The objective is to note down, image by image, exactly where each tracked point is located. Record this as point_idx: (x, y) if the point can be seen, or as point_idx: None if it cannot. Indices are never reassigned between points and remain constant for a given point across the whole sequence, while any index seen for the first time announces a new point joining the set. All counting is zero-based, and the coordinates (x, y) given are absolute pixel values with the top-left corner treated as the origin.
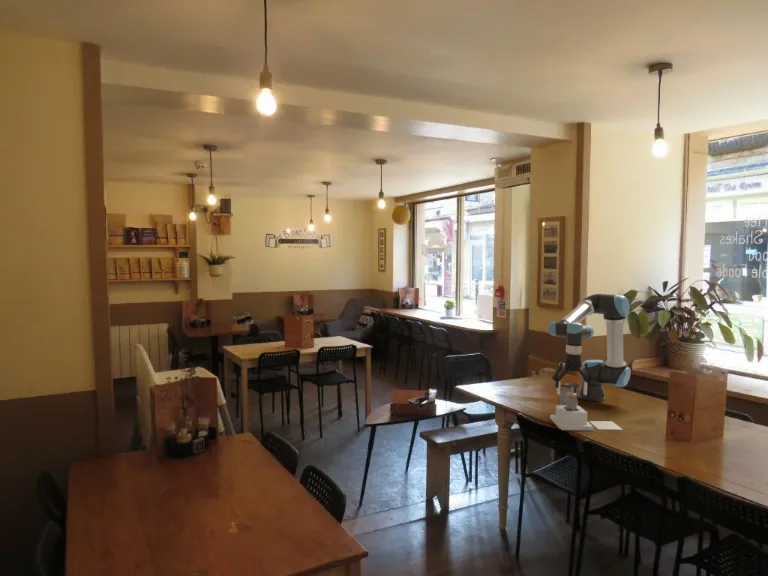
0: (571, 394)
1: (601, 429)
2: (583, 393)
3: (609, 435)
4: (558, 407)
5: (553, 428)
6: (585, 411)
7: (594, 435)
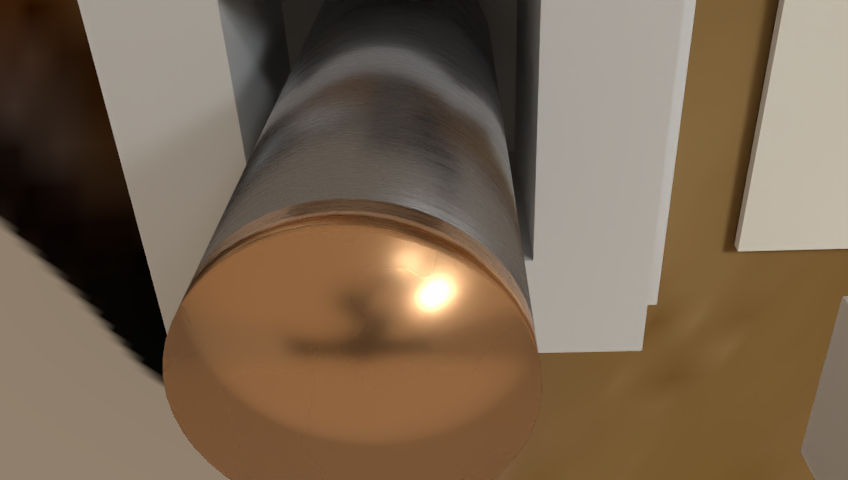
0: (306, 476)
1: (780, 247)
2: (846, 317)
3: (763, 406)
4: (95, 53)
5: (104, 231)
6: (639, 283)
7: (576, 414)
